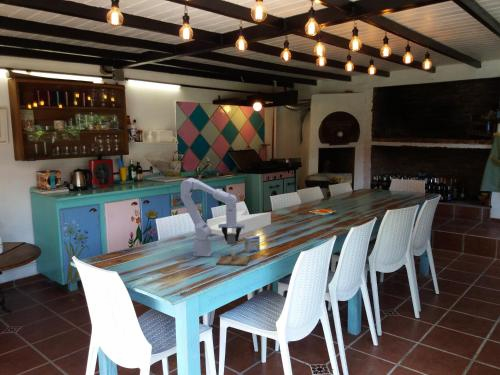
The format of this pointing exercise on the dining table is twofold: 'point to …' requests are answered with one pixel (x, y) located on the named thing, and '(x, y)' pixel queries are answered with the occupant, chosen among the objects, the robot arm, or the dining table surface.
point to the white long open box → (240, 222)
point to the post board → (233, 260)
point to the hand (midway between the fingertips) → (231, 240)
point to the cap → (231, 239)
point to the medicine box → (252, 244)
